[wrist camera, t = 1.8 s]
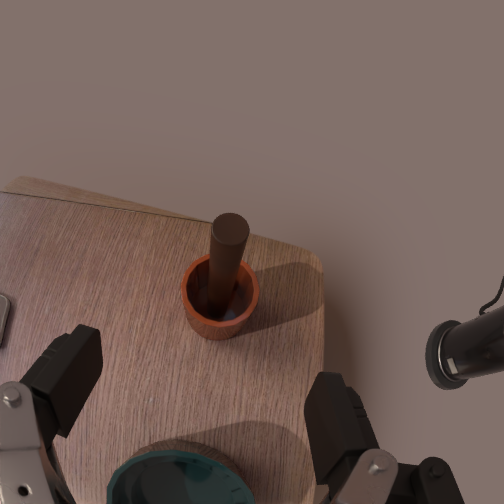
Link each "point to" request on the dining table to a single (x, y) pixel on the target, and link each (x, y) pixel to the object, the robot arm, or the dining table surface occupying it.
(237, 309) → the utensil cup
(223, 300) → the stirring stick
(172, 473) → the mixing bowl
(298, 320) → the dining table surface
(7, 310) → the smartphone
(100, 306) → the dining table surface
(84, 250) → the dining table surface
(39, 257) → the dining table surface
